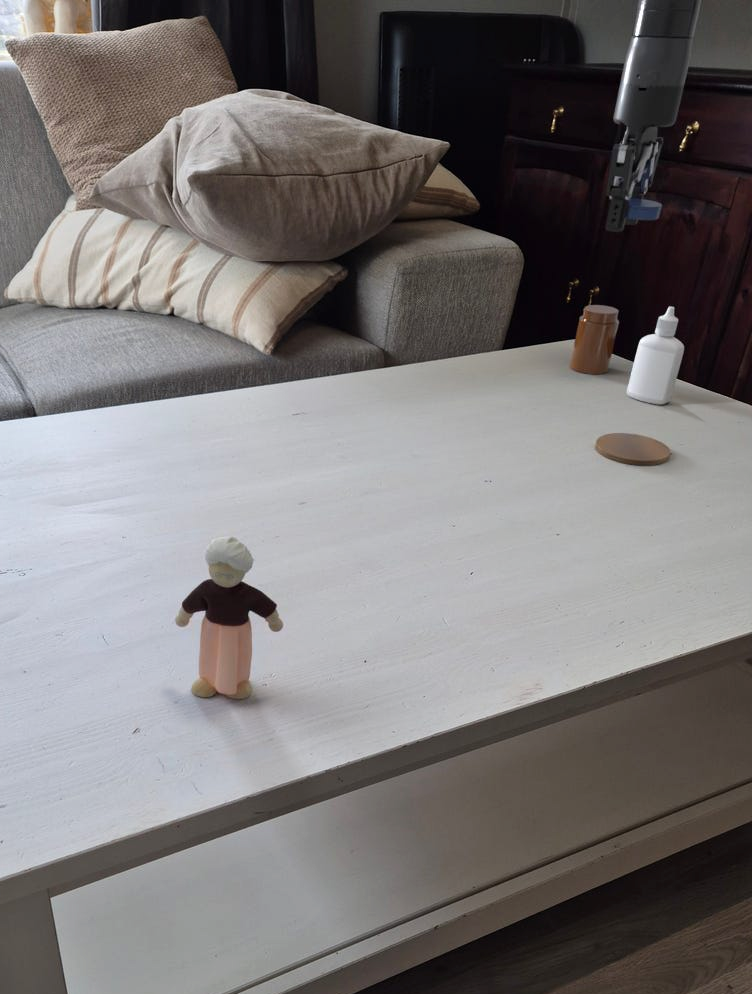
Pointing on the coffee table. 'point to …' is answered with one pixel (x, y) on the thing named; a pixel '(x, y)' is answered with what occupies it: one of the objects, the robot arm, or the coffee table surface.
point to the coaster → (632, 449)
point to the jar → (595, 339)
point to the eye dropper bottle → (657, 363)
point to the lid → (643, 209)
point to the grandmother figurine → (226, 620)
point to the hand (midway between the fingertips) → (621, 227)
